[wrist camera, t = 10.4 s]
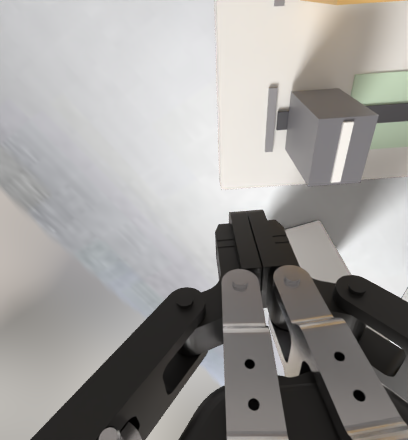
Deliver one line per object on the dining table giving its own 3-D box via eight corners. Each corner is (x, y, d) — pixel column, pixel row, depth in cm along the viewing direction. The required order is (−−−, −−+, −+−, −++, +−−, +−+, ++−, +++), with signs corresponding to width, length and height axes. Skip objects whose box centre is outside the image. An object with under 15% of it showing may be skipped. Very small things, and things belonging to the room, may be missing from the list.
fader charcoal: (338, 88, 23) (380, 115, 18) (327, 146, 26) (361, 183, 21) (291, 91, 23) (319, 120, 18) (285, 149, 26) (308, 187, 21)
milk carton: (253, 237, 35) (309, 435, 19) (319, 218, 34) (432, 413, 18) (267, 279, 39) (321, 470, 24) (326, 264, 38) (423, 453, 22)
